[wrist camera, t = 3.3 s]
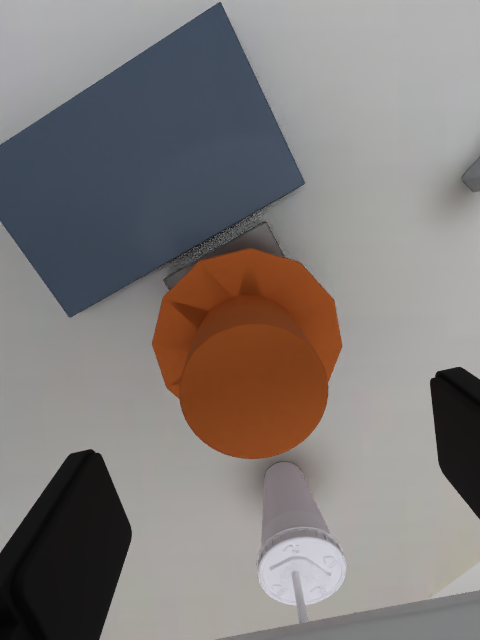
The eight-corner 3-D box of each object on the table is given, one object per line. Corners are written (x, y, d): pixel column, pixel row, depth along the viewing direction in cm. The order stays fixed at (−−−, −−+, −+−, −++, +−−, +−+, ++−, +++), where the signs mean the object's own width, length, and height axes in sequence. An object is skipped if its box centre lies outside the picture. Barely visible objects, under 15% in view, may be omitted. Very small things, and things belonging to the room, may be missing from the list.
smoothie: (259, 443, 34) (278, 594, 20) (324, 456, 34) (385, 611, 21) (243, 499, 35) (251, 673, 22) (306, 510, 36) (351, 686, 22)
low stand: (82, 310, 30) (69, 318, 27) (-14, 173, 27) (-38, 168, 24) (299, 186, 28) (305, 183, 25) (221, 21, 25) (220, 0, 22)
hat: (213, 451, 21) (206, 539, 15) (117, 307, 19) (65, 347, 13) (368, 374, 20) (424, 438, 14) (288, 210, 17) (317, 207, 12)
